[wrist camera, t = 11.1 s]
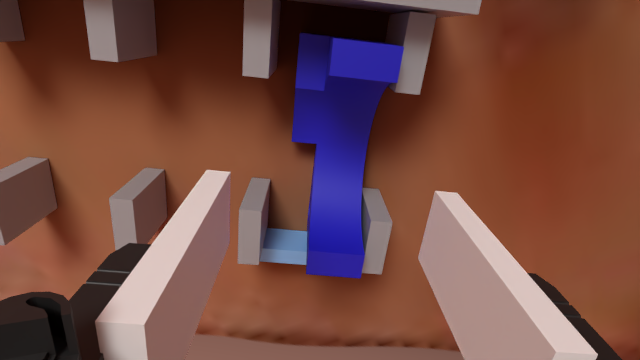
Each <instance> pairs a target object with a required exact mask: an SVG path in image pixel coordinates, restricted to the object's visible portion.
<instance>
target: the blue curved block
mask: <svg viewBox="0 0 640 360" xmlns="http://www.w3.org/2000/svg"><path fill="white" fill-rule="evenodd" d="M403 51H404V47H403V46H398V45H394V44H389V43H384V42H379V41H370V40H362V39H353V38H345V37H337V36H328V35H320V34H311V33H303V32H301V33H300V38H299V50H298V62H297V74H296V86H295V104H294V118H293V132H292V142H302V143H312V144H316V149H315V158H314V167H313V176H312V185H311V194H310V203H309V212H308V221H307V258H306V274H311V275H324V276H337V277H349V278H361V274H362V268H363V263H364V258H365V253H364V248H363V240H362V227H361V200H362V183H363V173H364V164H365V157H366V150H367V145H368V139H369V134H370V130H371V126H372V122H373V118H374V115H375V111H376V108H377V106H378V103H379V100H380V98H381V96H382V94H383V92H384V90H385V89H386V88H387V86H388V85H389V84H391V83H398V77H399V72H400V67H401V61H402V56H403Z"/></svg>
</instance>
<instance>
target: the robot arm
mask: <svg viewBox="0 0 640 360" xmlns="http://www.w3.org/2000/svg"><path fill="white" fill-rule="evenodd" d="M229 239H230V172H225V171H214V170H206V172H205V173H204V174H203V176H202V177H201V178H200V180H199V181H198V182H197V184H196V185H195V187H194V188H193V189H192V191H191V192H190V193H189V195H188V196H187V197H186V199H185V200H184V201H183V203H182V204H181V205H180V207H179V208H178V210H177V211H176V212H175V214H174V215H173V216H172V218H171V219H170V220H169V222H168V223H167V224H166V226H165V227H164V229H163V230H162V231H161V233H160V234H159V235H158V237H157V238H156V239H155V241H154V242H153V243H152V245H151V244H138V243H128V244H127V245H125V246H123V247H121V248H120V249H118V250H116V251H115V252H113V253H111V254H110V255H109V256H108V257H107V258H106V259H105V260H104V262H103V263H102V264H101V265H100V266H99V267H98V268H97V272H96V271H95V272H94V273H93V274H92V275H91V276H90V277H89V278H88V280H87V281H86V284H83V285H82V286H81V287H80V289H79V290H78V291H77V292H76V293H75V294H74V295H73V296H72V298H71V299H70V300H69V301H68V300H67V299H66V298H65V297H64V296H63V295H60V294H56V293H52V292H30V293H26V294H21V295H17V296H12V297H9V298H7V299H4V300H2V301H0V360H185V358H186V355H187V353H188V350H189V347H190V345H191V342H192V339H193V337H194V334H195V332H196V329H197V326H198V324H199V321H200V319H201V316H202V313H203V311H204V308H205V306H206V303H207V300H208V298H209V295H210V293H211V290H212V287H213V285H214V282H215V279H216V277H217V274H218V272H219V269H220V266H221V264H222V261H223V259H224V256H225V253H226V251H227V248H228V246H229ZM418 259H419V262H420V264H421V266H422V268H423V270H424V272H425V275H426V277H427V279H428V281H429V283H430V286H431V288H432V290H433V292H434V294H435V297H436V299H437V301H438V303H439V305H440V308H441V310H442V312H443V314H444V316H445V318H446V321H447V323H448V325H449V327H450V329H451V332H452V334H453V336H454V338H455V340H456V343H457V345H458V347H459V349H460V351H461V353H462V356H463V358H464V360H622V359H621V358H620V357H619V356H618V355H617V354H616V353H615V351H614V350H613V349H612V348H611V347H610V346H609V345H608V344H607V343H606V342H605V341H604V340H603V339H602V337H601V336H600V335H599V334H598V333H597V332H596V331H595V330H594V329H593V328H592V327H591V326H590V325H589V324H588V322H587V321H586V320H585V319H582V318H581V315H580V314H579V313H578V312H577V311H576V310H575V308H574V307H573V306H572V305H569V302H568V301H567V300H566V299H565V298H564V297H563V296H562V295H561V293H560V292H559V291H558V290H557V289H556V288H555V287H554V286H552V285H551V284H549V283H548V282H546V281H545V280H544V279H542V278H541V277H539V276H538V275H536V274H533V273H526V271H525V270H524V269H523V268H522V267H521V266H520V265H519V263H518V262H517V261H516V260H515V259H514V258H513V257H512V255H511V254H510V253H509V252H508V251H507V250H506V248H505V247H504V246H503V245H502V244H501V243H500V242H499V240H498V239H497V238H496V237H495V236H494V235H493V234H492V232H491V231H490V230H489V229H488V228H487V227H486V226H485V224H484V223H483V222H482V221H481V220H480V219H479V218H478V216H477V215H476V214H475V213H474V212H473V211H472V209H471V208H470V207H469V206H468V205H467V204H466V203H465V201H464V200H463V199H462V198H461V197H460V196H459V195H458V193H453V192H442V191H435V194H434V198H433V201H432V205H431V209H430V213H429V217H428V221H427V225H426V229H425V233H424V237H423V241H422V245H421V249H420V252H419V256H418Z"/></svg>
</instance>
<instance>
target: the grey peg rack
mask: <svg viewBox="0 0 640 360" xmlns="http://www.w3.org/2000/svg"><path fill="white" fill-rule="evenodd" d="M289 1H298V2H306V3H314V4H322V5H330V6H339V7H347V8H355V9H363V10H372V11H380V12H388V13H396V14H391V15H390V16H389V22H388V28H387V34H386V40H385V43H389V44H394V45H398V46H403V47H404V51H403V56H402V61H401V67H400V72H399V77H398V83H391V84H389V85H388V87H389V88H390V89H391V90H393V91H394V92H397V93H406V94H416V95H420V91H421V86H422V82H423V77H424V72H425V68H426V63H427V58H428V53H429V49H430V44H431V39H432V35H433V30H434V25H435V21H436V18H438V17H451V16H465V15H478V13H479V9H480V5H481V1H482V0H289ZM83 2H84V10H85V18H86V25H87V33H88V41H89V48H90V56H91V59H92V60H102V61H111V62H123V61H128V60H134V59H139V58H145V57H150V56H156V55H157V42H156V26H155V10H154V0H83ZM280 11H281V1H280V0H244V32H243V73H242V76H249V77H259V78H269V77H270V76H271V75H272V74H273V73H274V71H275V70H276V69H277V61H278V45H279V28H280ZM7 41H25V37H24V32H23V27H22V21H21V16H20V11H19V6H18V1H17V0H0V42H7ZM269 195H270V179H263V178H252V179H251V181H250V184H249V186H248V189H247V191H246V194H245V196H244V199H243V201H242V204H241V206H240V209H239V236H238V263H239V264H252V265H259V262H260V261H261V262H274V263H287V264H300V265H306V258H307V231H296V230H284V229H272V228H267V226H268V211H269ZM109 202H110V210H111V217H112V225H113V233H114V240H115V248H116V250H118V249H120V248H121V247H123V246H125V245H127V244H128V243H138V244H147V243H148V242H149V241H150V239H151V238H152V237H153V235H154V234H155V233H156V231H157V230H158V229H159V228H160V226H161V225H162V224H163V222H164V221H165V220H166V218H167V203H166V187H165V171H164V169H154V168H144V169H143V170H142V171H141V172H140V173H138V174H137V175H136V176H135V177H134V178H132V179H131V180H130V181H129V182H128V183H127V184H125V185H124V186H123V187H122V188H121V189H119V190H118V191H117V192H116V193H115V194H114V195H112V196H111V197H110V198H109ZM55 209H57V202H56V197H55V192H54V187H53V182H52V176H51V171H50V166H49V161H48V159H45V158H34V157H27V158H25V159H23V160H20V161H18V162H16V163H14V164H12V165H10V166H7V167H5V168H3V169H1V170H0V245H6V244H8V243H9V242H10V241H12V240H13V239H15V238H16V237H17V236H19V235H20V234H22V233H23V232H24V231H26V230H27V229H29V228H30V227H31V226H33V225H34V224H36V223H37V222H39V221H40V220H41V219H43V218H44V217H46V216H47V215H48V214H50V213H51V212H53V211H54V210H55ZM361 227H362V240H363V248H364V253H365V258H364V263H363V268H362V273H369V274H382V270H383V265H384V261H385V256H386V251H387V246H388V242H389V237H390V232H391V228H392V220H391V218H390V215H389V213H388V210H387V208H386V206H385V203H384V201H383V198H382V196H381V193H380V191H379V189H372V188H362V200H361Z"/></svg>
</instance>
